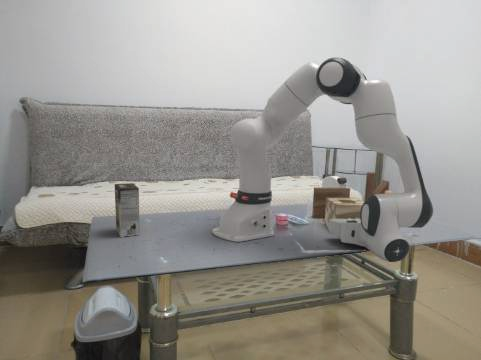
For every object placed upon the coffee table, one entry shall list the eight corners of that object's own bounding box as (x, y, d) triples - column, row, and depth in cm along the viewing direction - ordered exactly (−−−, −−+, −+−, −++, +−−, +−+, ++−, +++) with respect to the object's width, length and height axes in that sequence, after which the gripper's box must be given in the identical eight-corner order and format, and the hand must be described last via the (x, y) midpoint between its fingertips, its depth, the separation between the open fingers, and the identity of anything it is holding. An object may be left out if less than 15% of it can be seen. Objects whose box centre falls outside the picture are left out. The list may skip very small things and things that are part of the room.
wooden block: (386, 213, 159) (390, 172, 156) (367, 215, 154) (370, 173, 151) (380, 211, 162) (383, 171, 159) (361, 213, 158) (364, 172, 155)
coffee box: (115, 230, 125) (113, 183, 123) (134, 227, 128) (133, 182, 126) (119, 237, 117) (118, 188, 115) (140, 235, 120) (139, 187, 118)
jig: (374, 237, 125) (378, 200, 123) (329, 238, 123) (332, 200, 121) (347, 219, 147) (350, 187, 145) (309, 219, 145) (311, 187, 143)
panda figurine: (350, 210, 162) (353, 177, 159) (331, 213, 156) (333, 178, 154) (331, 204, 172) (334, 173, 170) (313, 207, 167) (315, 174, 164)
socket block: (366, 233, 126) (368, 204, 124) (335, 233, 125) (337, 204, 123) (352, 224, 137) (355, 197, 135) (324, 224, 135) (326, 197, 134)
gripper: (403, 222, 111) (381, 210, 125) (338, 222, 109) (323, 210, 123) (401, 242, 112) (379, 228, 126) (337, 242, 110) (322, 228, 124)
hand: (351, 219), depth 124 cm, fingers closed
